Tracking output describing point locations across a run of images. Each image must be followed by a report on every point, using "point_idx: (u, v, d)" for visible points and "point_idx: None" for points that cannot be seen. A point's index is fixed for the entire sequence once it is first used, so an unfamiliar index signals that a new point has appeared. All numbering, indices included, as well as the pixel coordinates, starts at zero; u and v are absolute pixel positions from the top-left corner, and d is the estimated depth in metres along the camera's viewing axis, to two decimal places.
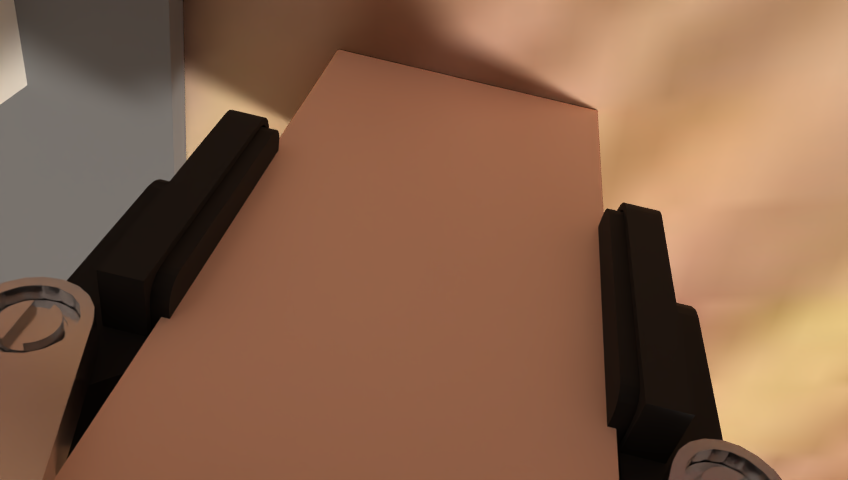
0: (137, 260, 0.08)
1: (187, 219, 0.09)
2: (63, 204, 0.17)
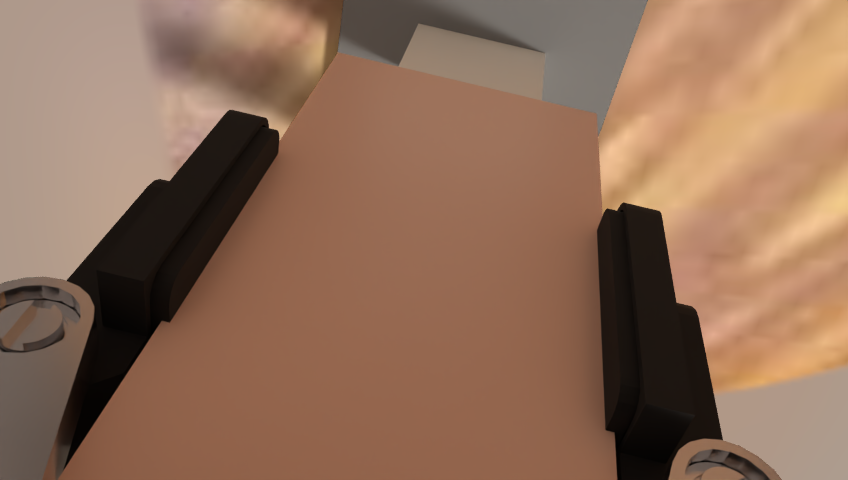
0: (137, 260, 0.08)
1: (187, 219, 0.09)
2: None
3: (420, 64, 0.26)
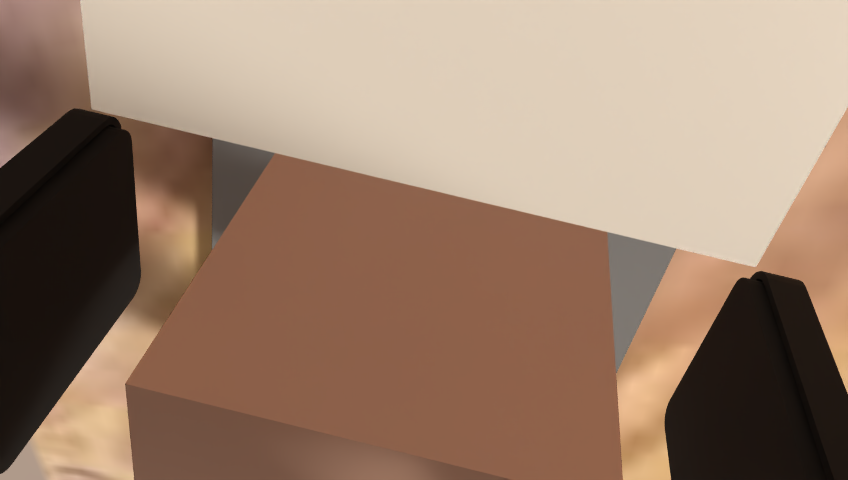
0: None
1: None
2: None
3: None
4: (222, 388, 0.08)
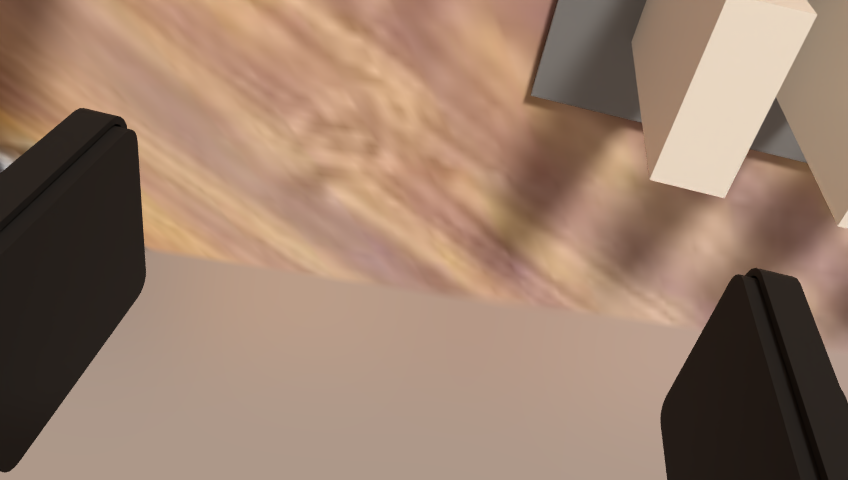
0: None
1: None
2: None
3: None
4: None
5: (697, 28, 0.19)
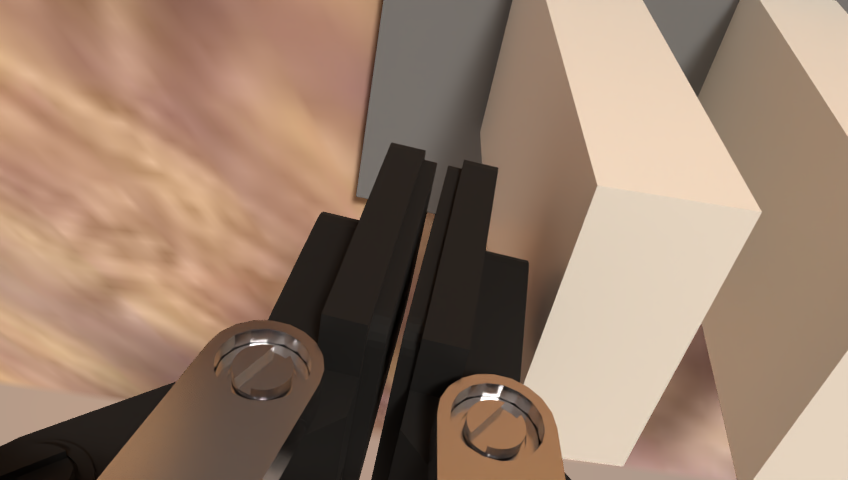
0: (356, 303, 0.08)
1: (387, 259, 0.09)
2: None
3: None
4: None
5: (552, 207, 0.11)
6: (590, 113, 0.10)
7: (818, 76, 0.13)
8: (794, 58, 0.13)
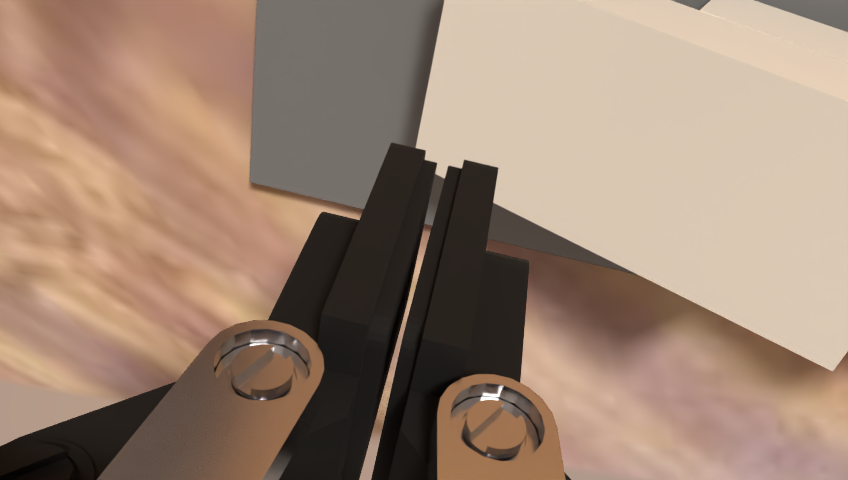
0: (356, 303, 0.08)
1: (387, 259, 0.09)
2: None
3: None
4: None
5: None
6: None
7: None
8: None
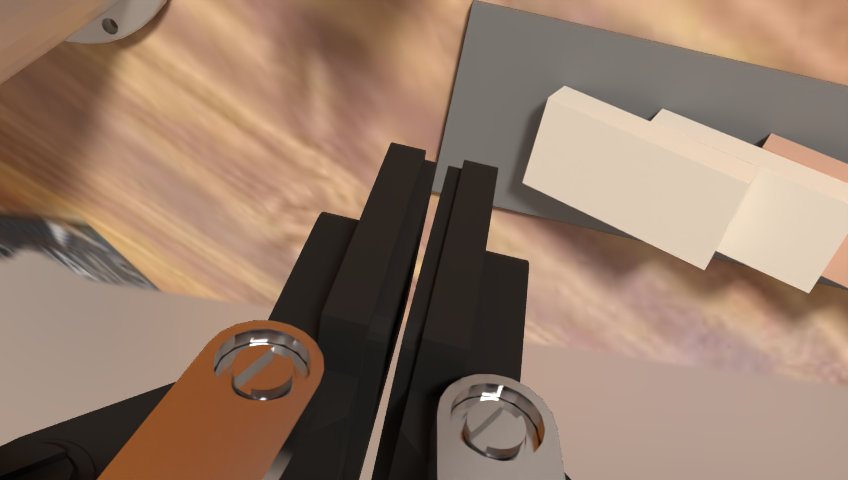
0: (355, 303, 0.08)
1: (386, 259, 0.09)
2: (712, 112, 0.38)
3: None
4: None
5: (706, 195, 0.34)
6: (711, 165, 0.34)
7: (752, 161, 0.35)
8: None
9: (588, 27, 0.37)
